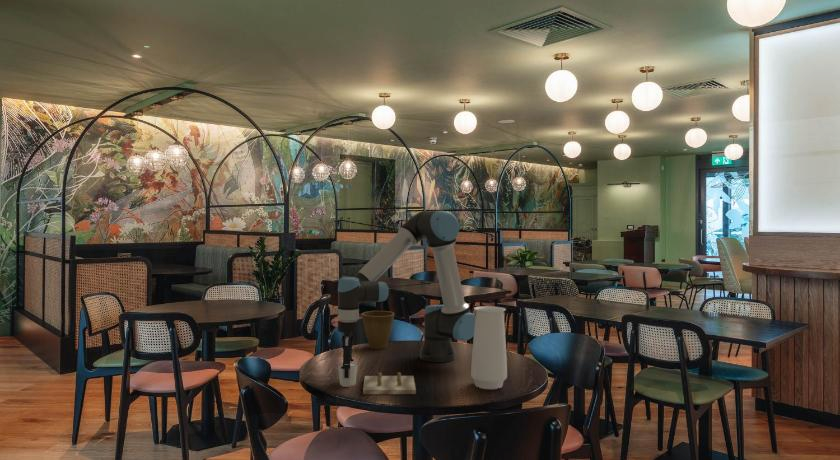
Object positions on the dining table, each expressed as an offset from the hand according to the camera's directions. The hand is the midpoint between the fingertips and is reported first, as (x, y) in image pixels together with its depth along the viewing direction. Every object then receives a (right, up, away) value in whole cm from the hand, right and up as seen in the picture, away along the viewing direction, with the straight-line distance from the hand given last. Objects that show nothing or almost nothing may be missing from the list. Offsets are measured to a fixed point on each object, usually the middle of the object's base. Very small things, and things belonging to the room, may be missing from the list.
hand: (347, 383), depth 215 cm
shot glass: (0, -1, 0) cm, 1 cm away
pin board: (+15, -1, -3) cm, 16 cm away
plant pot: (+7, +1, +61) cm, 61 cm away
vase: (+51, -1, 0) cm, 51 cm away
